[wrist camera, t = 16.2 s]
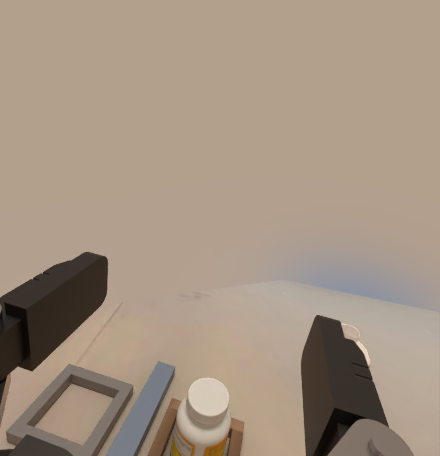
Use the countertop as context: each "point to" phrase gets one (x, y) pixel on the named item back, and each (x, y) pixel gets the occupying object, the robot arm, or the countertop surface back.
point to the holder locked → (169, 422)
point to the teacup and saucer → (355, 339)
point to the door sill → (143, 412)
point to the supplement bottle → (202, 420)
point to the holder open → (41, 405)
